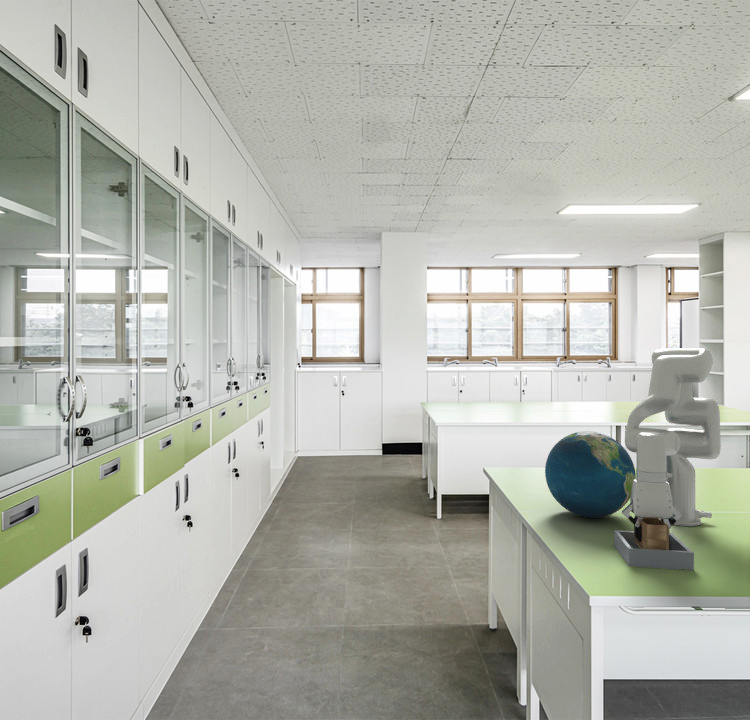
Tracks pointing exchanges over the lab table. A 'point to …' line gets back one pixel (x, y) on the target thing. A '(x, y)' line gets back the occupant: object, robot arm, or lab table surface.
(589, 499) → the globe
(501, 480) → the lab table surface
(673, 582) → the lab table surface
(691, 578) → the lab table surface
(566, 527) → the lab table surface
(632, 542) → the shallow gray tray
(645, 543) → the small crate
